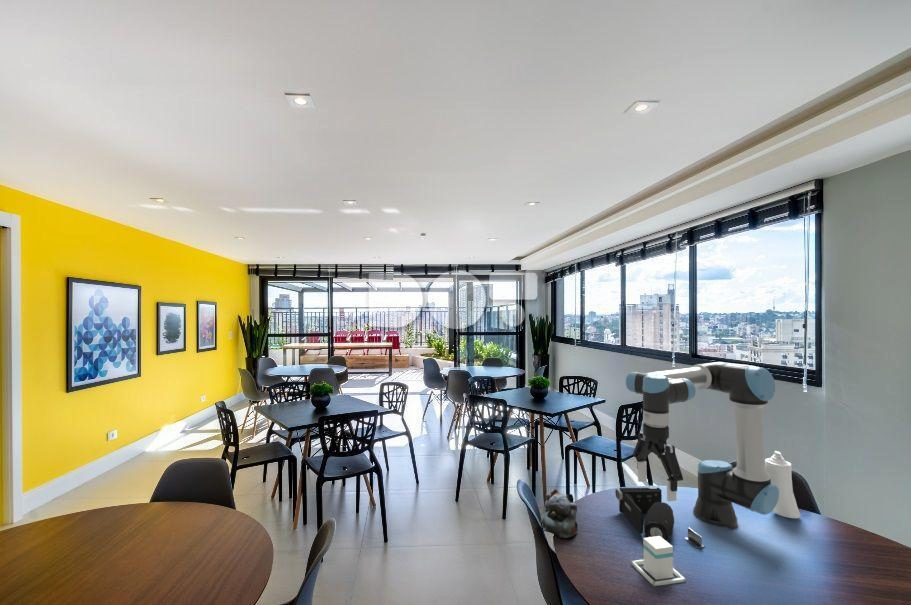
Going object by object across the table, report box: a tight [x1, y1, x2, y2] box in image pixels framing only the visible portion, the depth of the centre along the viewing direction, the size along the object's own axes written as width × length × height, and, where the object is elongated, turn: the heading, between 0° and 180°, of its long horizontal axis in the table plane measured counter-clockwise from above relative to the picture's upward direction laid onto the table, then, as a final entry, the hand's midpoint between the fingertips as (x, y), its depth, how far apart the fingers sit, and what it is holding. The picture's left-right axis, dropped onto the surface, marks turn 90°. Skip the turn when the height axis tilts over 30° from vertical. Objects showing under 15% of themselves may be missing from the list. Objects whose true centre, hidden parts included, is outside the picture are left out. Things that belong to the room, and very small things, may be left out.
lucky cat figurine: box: [540, 488, 579, 539], centre depth 155 cm, size 15×12×14 cm
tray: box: [630, 559, 686, 587], centre depth 129 cm, size 11×11×2 cm
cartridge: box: [642, 536, 674, 581], centre depth 129 cm, size 6×6×10 cm
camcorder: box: [614, 486, 663, 535], centre depth 160 cm, size 20×18×10 cm
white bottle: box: [765, 450, 802, 519], centre depth 167 cm, size 12×11×25 cm
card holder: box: [684, 527, 706, 549], centre depth 146 cm, size 3×6×4 cm, turn 11°
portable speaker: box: [643, 502, 675, 542], centre depth 152 cm, size 9×9×20 cm
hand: (656, 490), depth 130 cm, fingers open, 13 cm apart
